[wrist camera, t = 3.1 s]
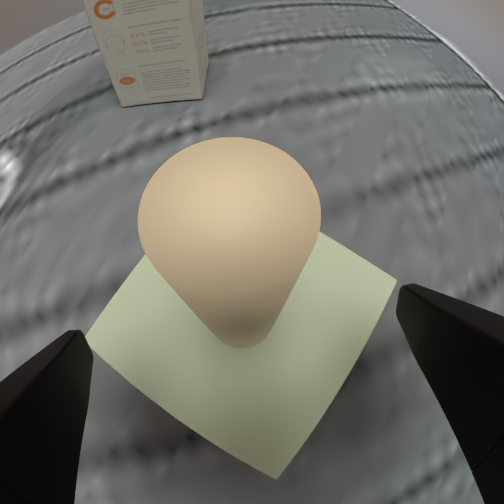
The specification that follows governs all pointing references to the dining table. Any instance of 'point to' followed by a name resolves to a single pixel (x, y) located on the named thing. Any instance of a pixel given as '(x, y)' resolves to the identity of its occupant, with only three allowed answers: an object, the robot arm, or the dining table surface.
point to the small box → (151, 48)
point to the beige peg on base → (240, 301)
